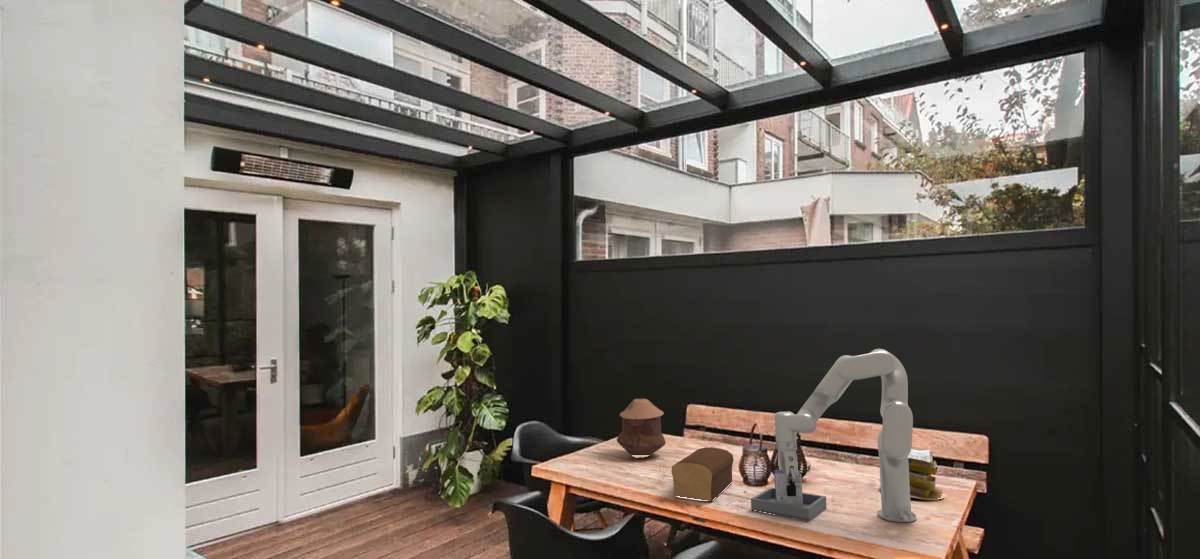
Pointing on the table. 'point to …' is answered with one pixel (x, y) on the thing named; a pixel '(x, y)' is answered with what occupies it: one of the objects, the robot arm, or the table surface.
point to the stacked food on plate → (923, 475)
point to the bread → (703, 473)
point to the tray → (805, 513)
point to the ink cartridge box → (782, 489)
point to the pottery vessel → (641, 428)
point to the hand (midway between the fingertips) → (788, 492)
